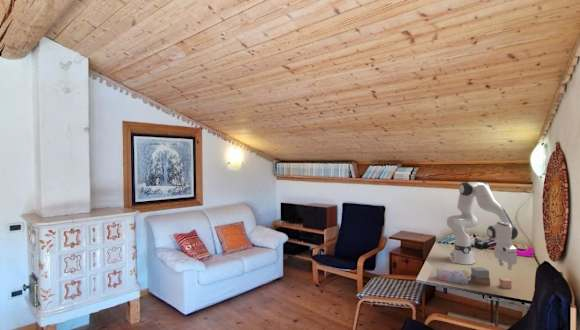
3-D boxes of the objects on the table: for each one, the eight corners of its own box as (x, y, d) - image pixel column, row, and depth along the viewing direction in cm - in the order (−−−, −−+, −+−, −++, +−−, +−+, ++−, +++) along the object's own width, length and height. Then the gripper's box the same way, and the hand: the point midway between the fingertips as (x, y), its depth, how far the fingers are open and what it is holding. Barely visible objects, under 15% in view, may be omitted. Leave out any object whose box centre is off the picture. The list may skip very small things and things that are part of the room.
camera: (490, 250, 315) (490, 240, 315) (478, 250, 317) (478, 240, 317) (484, 247, 329) (484, 237, 329) (473, 247, 331) (472, 237, 331)
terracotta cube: (499, 285, 226) (499, 278, 226) (507, 285, 225) (506, 278, 225) (503, 288, 221) (503, 280, 221) (511, 288, 220) (511, 280, 220)
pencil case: (469, 282, 232) (469, 269, 232) (469, 286, 225) (468, 272, 225) (437, 278, 243) (436, 265, 243) (435, 282, 235) (435, 268, 235)
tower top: (471, 274, 235) (471, 267, 235) (483, 274, 235) (482, 267, 235) (476, 278, 227) (476, 270, 227) (489, 278, 227) (488, 270, 227)
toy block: (532, 255, 297) (532, 246, 297) (533, 256, 292) (533, 248, 292) (512, 253, 306) (512, 244, 306) (512, 254, 300) (512, 246, 300)
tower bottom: (470, 281, 236) (470, 274, 236) (483, 281, 235) (483, 274, 235) (476, 285, 227) (476, 278, 227) (490, 285, 226) (489, 278, 226)
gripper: (491, 243, 234) (492, 263, 233) (508, 250, 213) (509, 272, 213) (500, 243, 233) (501, 263, 233) (518, 250, 213) (519, 271, 213)
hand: (505, 267), depth 223 cm, fingers open, 8 cm apart
